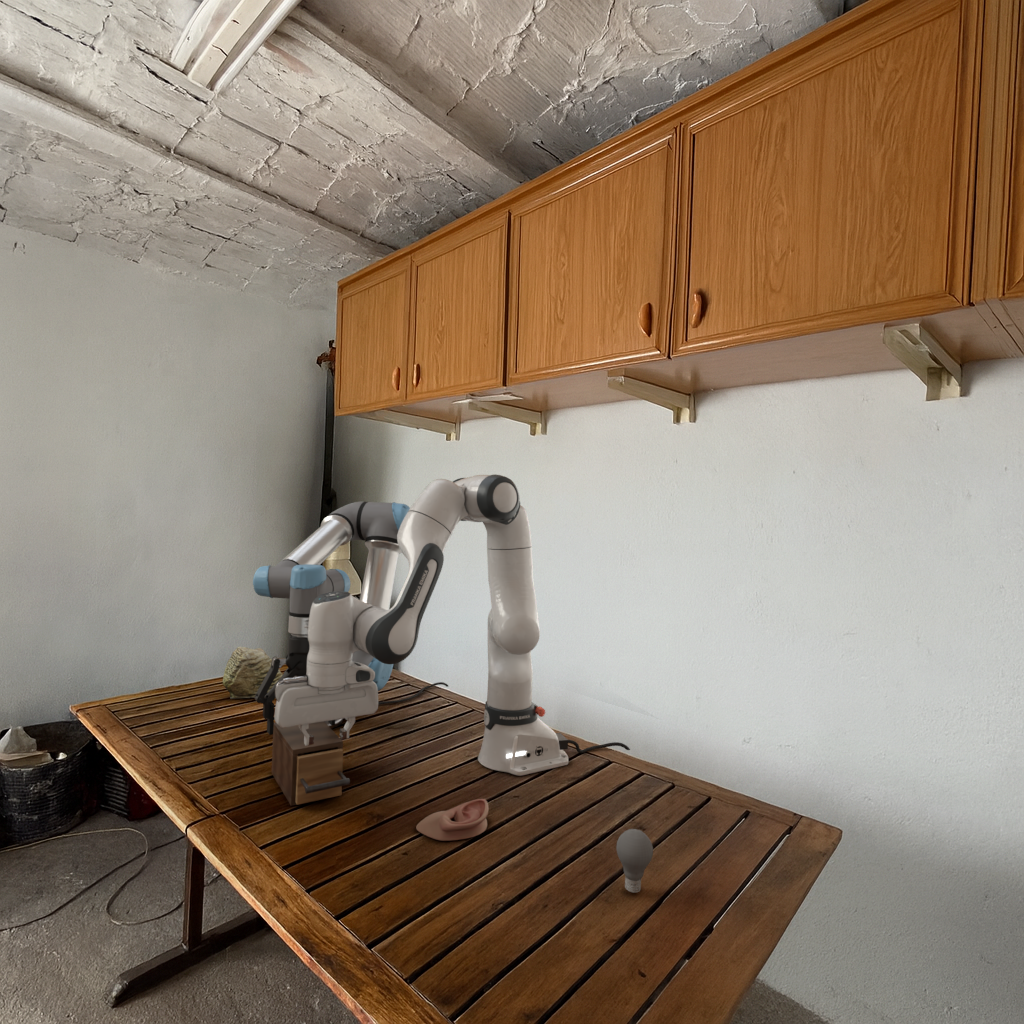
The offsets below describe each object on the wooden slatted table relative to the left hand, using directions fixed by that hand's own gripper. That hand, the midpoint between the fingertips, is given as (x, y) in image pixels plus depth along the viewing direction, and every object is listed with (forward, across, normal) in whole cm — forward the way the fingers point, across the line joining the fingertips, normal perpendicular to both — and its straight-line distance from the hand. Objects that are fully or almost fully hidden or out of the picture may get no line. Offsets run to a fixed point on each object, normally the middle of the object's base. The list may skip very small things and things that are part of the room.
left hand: (301, 728), depth 142 cm
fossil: (+10, +3, +65) cm, 65 cm away
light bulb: (+11, +37, -68) cm, 78 cm away
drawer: (+10, 0, -9) cm, 14 cm away
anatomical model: (+11, +20, -36) cm, 42 cm away
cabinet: (+11, 0, -4) cm, 12 cm away
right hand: (-3, 0, -18) cm, 18 cm away
